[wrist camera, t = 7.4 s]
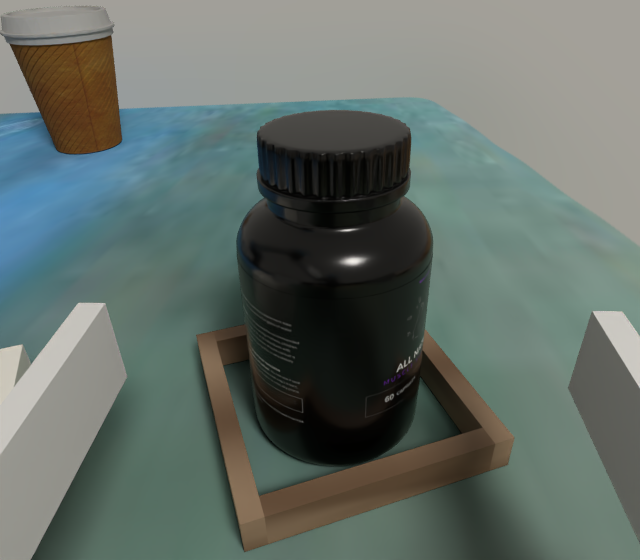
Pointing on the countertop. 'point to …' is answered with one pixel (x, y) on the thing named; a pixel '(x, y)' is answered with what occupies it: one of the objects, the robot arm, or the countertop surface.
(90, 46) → the disposable coffee cup
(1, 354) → the cream tray
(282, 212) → the supplement bottle
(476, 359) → the countertop surface
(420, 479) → the walnut collar
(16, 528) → the robot arm
